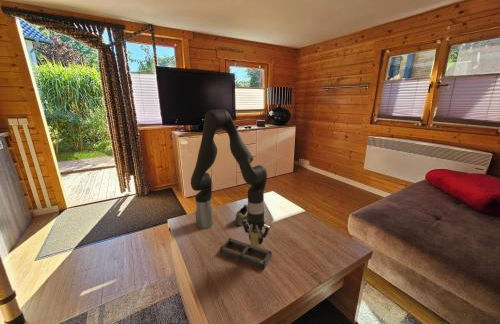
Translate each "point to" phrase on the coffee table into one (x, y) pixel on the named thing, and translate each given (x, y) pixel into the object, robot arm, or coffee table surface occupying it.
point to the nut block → (254, 238)
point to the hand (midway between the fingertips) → (256, 241)
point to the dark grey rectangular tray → (246, 253)
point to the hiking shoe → (241, 215)
